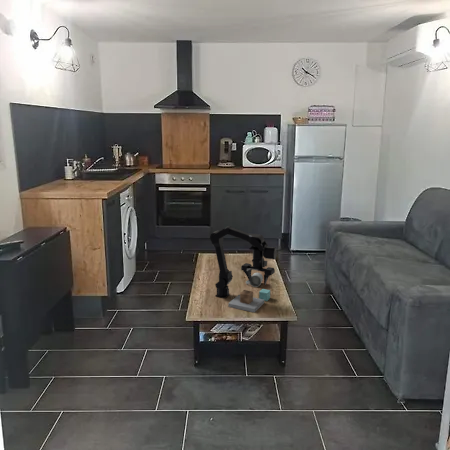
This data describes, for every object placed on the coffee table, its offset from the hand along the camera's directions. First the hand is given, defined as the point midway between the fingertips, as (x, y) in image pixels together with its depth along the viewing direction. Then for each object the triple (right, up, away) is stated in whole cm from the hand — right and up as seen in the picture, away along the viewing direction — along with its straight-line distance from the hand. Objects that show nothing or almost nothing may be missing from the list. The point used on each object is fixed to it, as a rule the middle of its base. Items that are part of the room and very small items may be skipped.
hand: (257, 283), depth 251 cm
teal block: (+5, -10, +7) cm, 13 cm away
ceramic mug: (0, -5, +28) cm, 28 cm away
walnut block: (-6, -10, -2) cm, 12 cm away
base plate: (-7, -12, -1) cm, 14 cm away
